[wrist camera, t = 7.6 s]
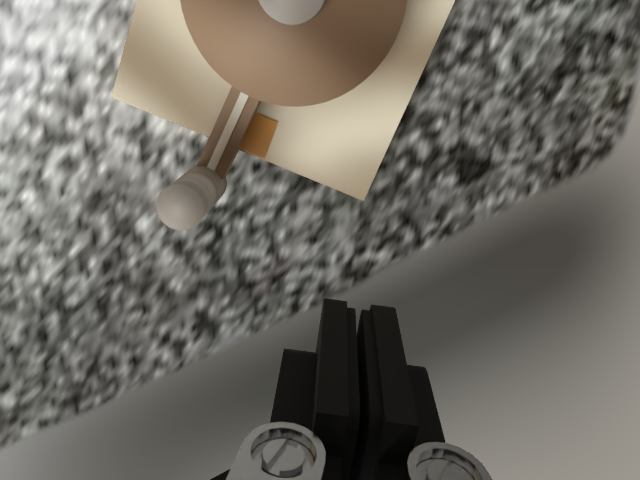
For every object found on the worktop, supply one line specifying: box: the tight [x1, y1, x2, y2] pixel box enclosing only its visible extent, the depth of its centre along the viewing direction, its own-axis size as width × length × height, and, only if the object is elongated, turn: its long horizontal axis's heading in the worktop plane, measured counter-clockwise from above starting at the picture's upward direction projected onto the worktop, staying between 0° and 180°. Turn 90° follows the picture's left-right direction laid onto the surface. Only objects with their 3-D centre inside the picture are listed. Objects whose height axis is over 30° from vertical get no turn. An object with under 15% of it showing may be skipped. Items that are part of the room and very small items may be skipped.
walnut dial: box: [156, 0, 407, 230], centre depth 22 cm, size 16×10×5 cm, turn 152°
